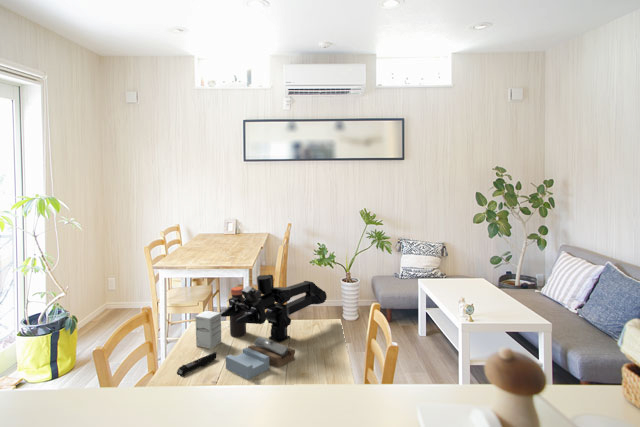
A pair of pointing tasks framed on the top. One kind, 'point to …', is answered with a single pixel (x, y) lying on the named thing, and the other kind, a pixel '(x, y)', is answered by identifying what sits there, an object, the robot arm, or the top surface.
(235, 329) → the bottle
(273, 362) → the beam
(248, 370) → the cradle
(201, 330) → the supplement box
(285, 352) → the axle
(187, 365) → the electric trimmer
